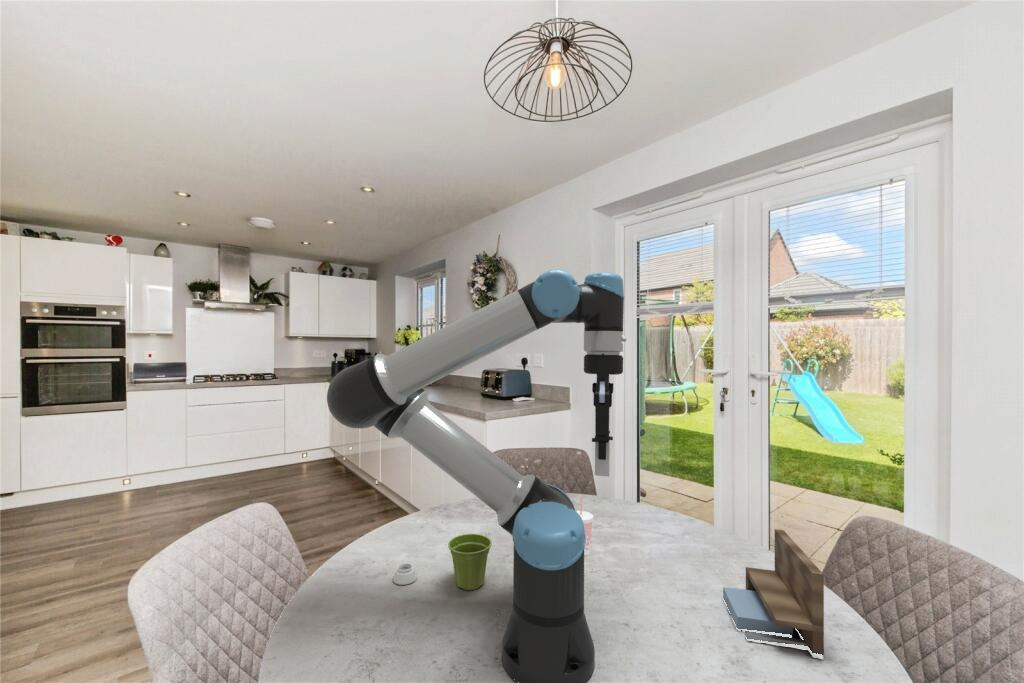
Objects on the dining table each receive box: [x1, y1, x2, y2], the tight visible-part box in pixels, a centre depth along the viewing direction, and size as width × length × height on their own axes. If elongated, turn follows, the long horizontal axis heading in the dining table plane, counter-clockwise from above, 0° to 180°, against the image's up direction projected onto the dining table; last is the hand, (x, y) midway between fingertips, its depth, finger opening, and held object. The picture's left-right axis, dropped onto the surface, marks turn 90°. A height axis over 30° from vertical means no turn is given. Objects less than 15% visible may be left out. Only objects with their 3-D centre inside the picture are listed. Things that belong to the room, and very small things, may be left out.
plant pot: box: [447, 533, 493, 591], centre depth 93 cm, size 9×9×9 cm
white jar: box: [392, 562, 418, 586], centre depth 94 cm, size 5×3×5 cm
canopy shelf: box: [744, 528, 825, 656], centre depth 81 cm, size 18×11×14 cm, turn 166°
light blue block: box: [722, 586, 794, 636], centre depth 82 cm, size 10×9×3 cm
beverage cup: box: [575, 494, 594, 557], centre depth 108 cm, size 6×6×14 cm
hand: (602, 474), depth 84 cm, fingers closed
